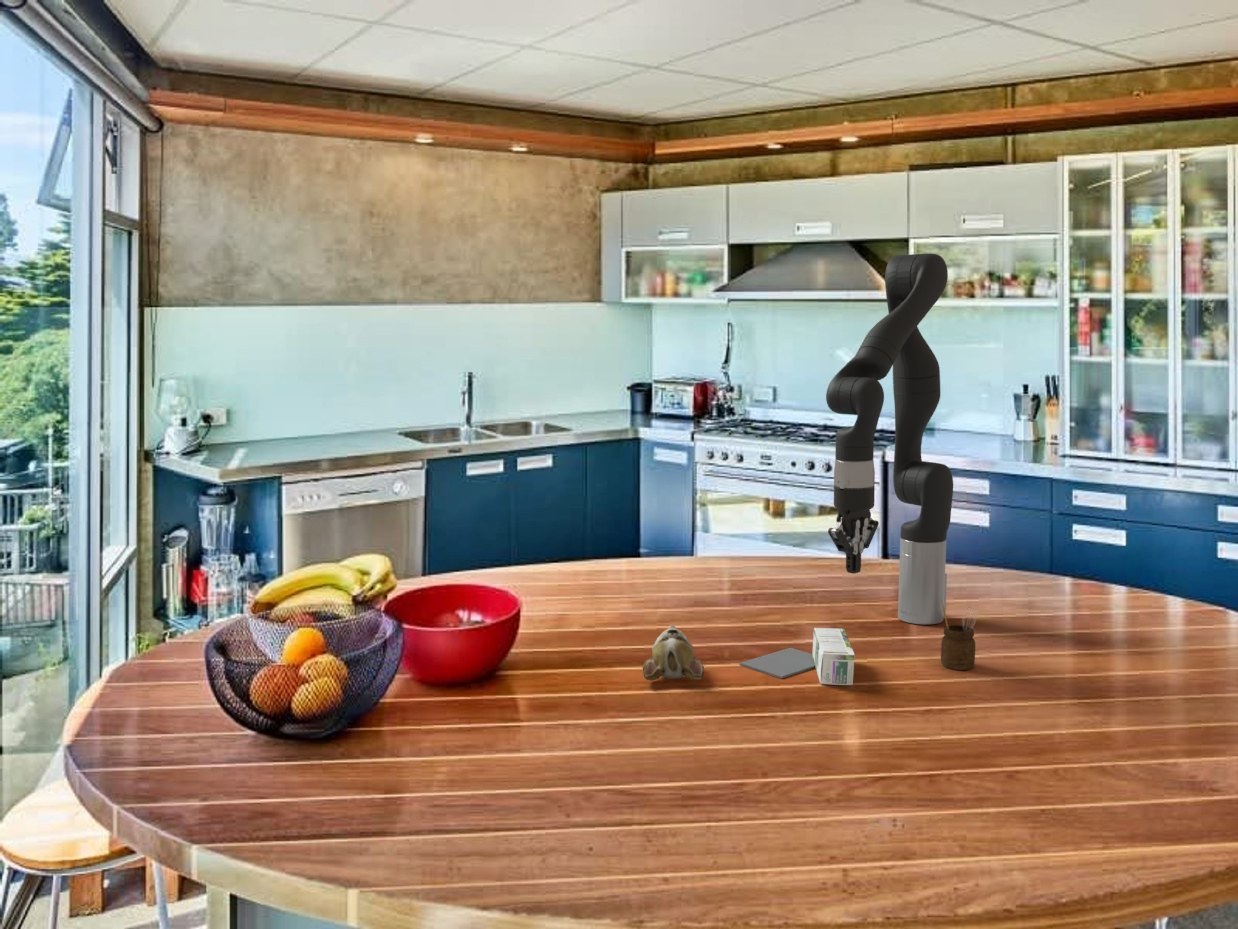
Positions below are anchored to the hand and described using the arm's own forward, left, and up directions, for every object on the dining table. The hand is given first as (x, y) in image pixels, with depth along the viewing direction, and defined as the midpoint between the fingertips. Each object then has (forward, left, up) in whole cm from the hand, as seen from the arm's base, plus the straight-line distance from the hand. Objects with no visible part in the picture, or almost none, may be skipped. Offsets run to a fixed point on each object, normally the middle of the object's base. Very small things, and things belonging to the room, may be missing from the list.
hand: (853, 572), depth 205 cm
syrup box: (+10, +2, -11) cm, 15 cm away
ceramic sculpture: (+38, -10, -15) cm, 42 cm away
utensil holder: (-5, +20, -15) cm, 25 cm away
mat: (+18, -1, -15) cm, 23 cm away
